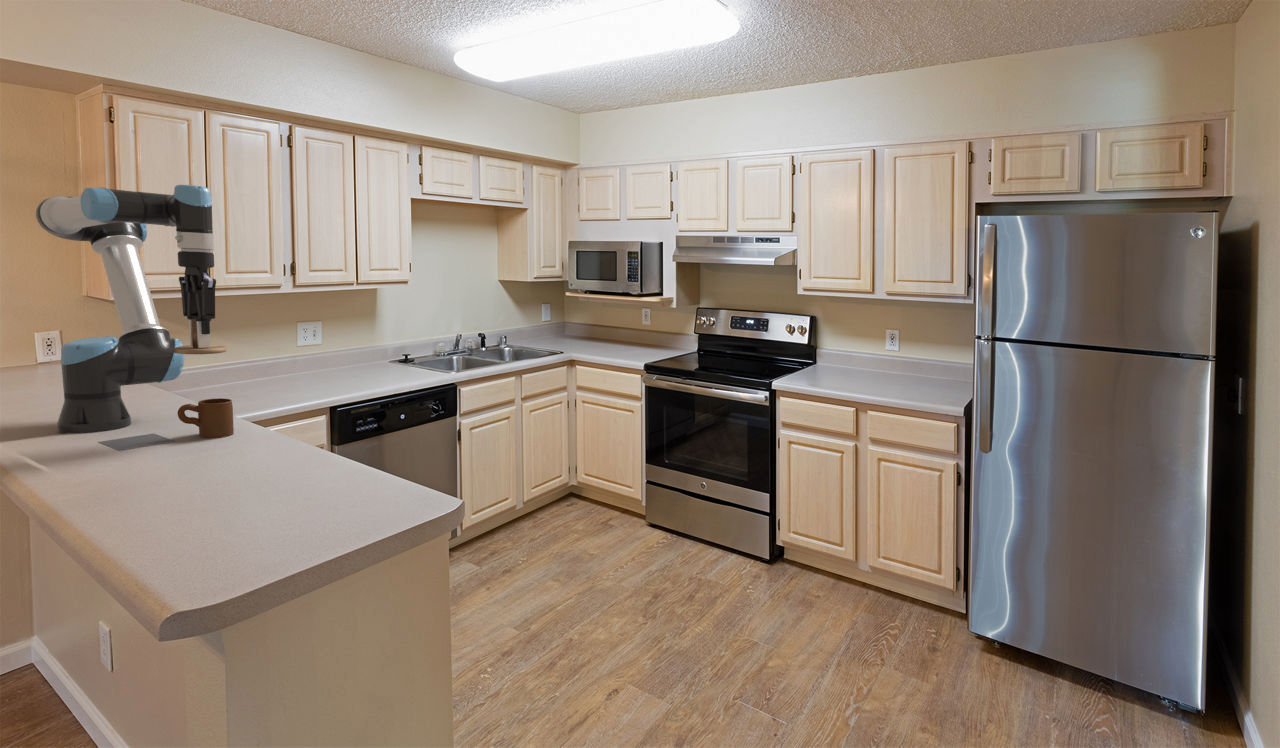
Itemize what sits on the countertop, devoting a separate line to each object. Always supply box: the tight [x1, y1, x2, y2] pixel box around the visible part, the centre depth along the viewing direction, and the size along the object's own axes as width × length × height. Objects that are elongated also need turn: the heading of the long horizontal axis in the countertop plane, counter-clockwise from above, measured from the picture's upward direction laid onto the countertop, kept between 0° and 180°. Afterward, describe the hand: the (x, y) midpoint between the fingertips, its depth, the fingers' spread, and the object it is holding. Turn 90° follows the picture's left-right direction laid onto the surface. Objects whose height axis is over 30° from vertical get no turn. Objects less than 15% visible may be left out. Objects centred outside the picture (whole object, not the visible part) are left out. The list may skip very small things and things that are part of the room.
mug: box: [177, 398, 235, 439], centre depth 178 cm, size 12×8×9 cm, turn 131°
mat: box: [97, 433, 177, 452], centre depth 171 cm, size 12×12×1 cm
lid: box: [174, 319, 227, 355], centre depth 175 cm, size 11×11×8 cm
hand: (200, 346), depth 175 cm, fingers closed on lid, 3 cm apart
